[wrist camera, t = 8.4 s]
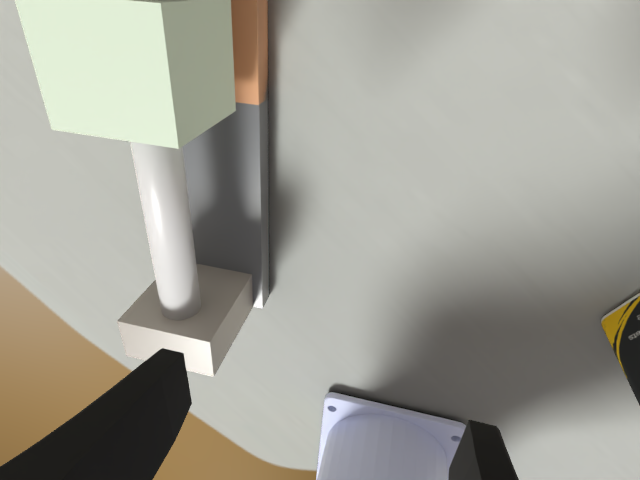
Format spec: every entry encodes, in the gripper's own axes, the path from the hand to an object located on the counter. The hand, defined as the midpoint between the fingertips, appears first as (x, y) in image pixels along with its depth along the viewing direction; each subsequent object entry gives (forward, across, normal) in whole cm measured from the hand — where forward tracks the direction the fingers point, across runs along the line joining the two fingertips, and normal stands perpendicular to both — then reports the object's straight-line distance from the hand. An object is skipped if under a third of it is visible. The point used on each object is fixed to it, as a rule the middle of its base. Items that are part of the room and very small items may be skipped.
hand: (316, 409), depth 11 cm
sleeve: (+7, +7, -7) cm, 12 cm away
